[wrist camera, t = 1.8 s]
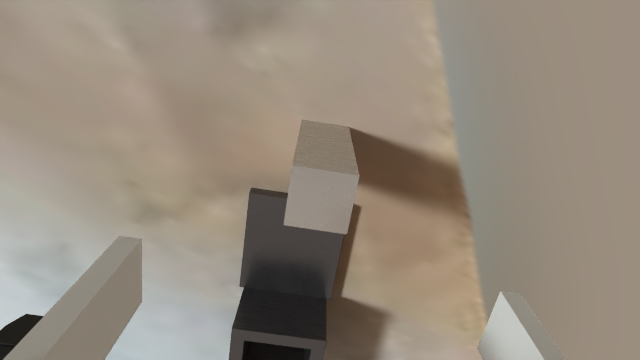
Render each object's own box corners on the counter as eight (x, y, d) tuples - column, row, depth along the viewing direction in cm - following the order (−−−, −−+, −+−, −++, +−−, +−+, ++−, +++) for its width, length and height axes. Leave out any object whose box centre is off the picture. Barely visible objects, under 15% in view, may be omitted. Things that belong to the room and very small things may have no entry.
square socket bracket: (251, 187, 33) (236, 223, 27) (349, 202, 33) (354, 240, 27) (228, 407, 42) (213, 467, 36) (304, 416, 42) (301, 477, 37)
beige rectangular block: (301, 119, 30) (291, 165, 21) (348, 127, 31) (359, 175, 21) (295, 163, 32) (283, 225, 22) (340, 171, 32) (347, 234, 23)
